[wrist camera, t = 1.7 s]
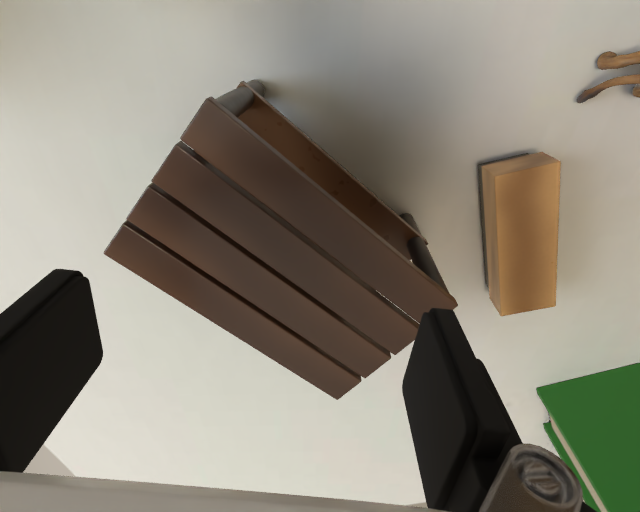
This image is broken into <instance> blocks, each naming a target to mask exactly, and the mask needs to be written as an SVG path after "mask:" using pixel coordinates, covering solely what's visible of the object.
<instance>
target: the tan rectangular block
mask: <svg viewBox="0 0 640 512" xmlns="http://www.w3.org/2000/svg"><path fill="white" fill-rule="evenodd" d="M560 167H561V162H560V161H559V160H557V159H555V158H553V157H551V156H549V155H547V154H545V153H543V152H539V153H535V154H528V153H526V154H522V155H518V156H513V157H509V158H505V159H501V160H496V161H492V162H488V163H484V164H479V165H478V171H479V186H480V202H481V217H482V232H483V247H484V263H485V278H486V284H487V285H488V287H489V296H490V300H491V301H492V303H493V304H494V306H495V307H496V309H497V311H498V312H499V314H500V315H501V316H505V315H511V314H516V313H521V312H527V311H532V310H538V309H543V308H549V307H554V306H556V279H557V251H558V223H559V195H560Z"/></svg>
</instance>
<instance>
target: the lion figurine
mask: <svg viewBox="0 0 640 512" xmlns="http://www.w3.org/2000/svg"><path fill="white" fill-rule="evenodd" d="M597 64H598V68H599V69H601V70H606V69H618V68H622V67H626V66H628V65H633V64H640V51H638V52H635V53H631V54H627V55H619V56H617V55H616V54H615V53H613V52H606V53H603V54H602V55H601V56H600V57H599V59H598V62H597ZM624 84H636V86H635V87H634V88H633V95H634V96H636V97H640V74H639V75H629V76H622V77H616V78H613V79H610V80H607V81H605V82H603V83H601V84H599V85H597V86H596V87H594V88H591V89H588V90H585V91H584V92H583V93H582V94H581V95H580V96H579V97H578V99H577V102H578V103H583V102H585V101H586V100H588V99H590V98H593V97H595V96H596V95H597V94H598V93H600V92H601V91H603V90H604V89H606V88H609V87H612V86H616V85H624Z"/></svg>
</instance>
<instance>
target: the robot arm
mask: <svg viewBox="0 0 640 512" xmlns="http://www.w3.org/2000/svg"><path fill="white" fill-rule="evenodd" d="M102 357H103V349H102V344H101V339H100V334H99V329H98V324H97V319H96V313H95V308H94V303H93V298H92V293H91V288H90V283H89V280H88V278H86V277H83V274H82V273H81V272H80V271H74V270H64V269H55V270H53V271H52V272H51V273H49V274H48V275H47V276H46V277H45V278H43V279H42V280H41V281H40V282H39V283H37V284H36V285H35V286H34V287H32V288H31V289H30V290H29V291H28V292H26V293H25V294H24V295H23V296H22V297H20V298H19V299H18V300H17V301H16V302H14V303H13V304H12V305H11V306H9V307H8V308H7V309H6V310H5V311H3V312H2V313H1V314H0V512H597V511H595V510H594V509H593V508H591V507H590V506H589V505H587V504H586V503H584V502H583V491H582V488H581V485H580V482H579V480H578V478H577V477H576V475H575V474H574V472H573V471H572V469H571V468H570V467H569V466H568V465H567V464H566V463H565V462H564V461H563V460H562V459H560V458H559V457H558V456H556V455H555V454H553V453H552V452H550V451H548V450H546V449H544V448H542V447H540V446H536V445H532V444H523V443H522V441H521V439H520V437H519V435H518V433H517V431H516V429H515V427H514V425H513V423H512V421H511V419H510V417H509V415H508V413H507V410H506V408H505V406H504V404H503V402H502V400H501V398H500V396H499V394H498V392H497V390H496V388H495V386H494V384H493V382H492V380H491V378H490V376H489V374H488V372H487V370H486V368H485V366H484V364H483V363H482V361H481V360H479V359H476V357H475V355H474V353H473V351H472V349H471V347H470V345H469V343H468V340H467V338H466V336H465V334H464V332H463V330H462V328H461V326H460V324H459V321H458V319H457V317H456V315H455V313H454V311H453V310H449V309H440V308H431V309H430V311H429V312H424V313H423V315H422V318H421V321H420V325H419V328H418V332H417V335H416V338H415V342H414V345H413V348H412V352H411V355H410V359H409V362H408V365H407V369H406V372H405V376H404V379H403V385H402V390H403V396H404V401H405V406H406V410H407V415H408V419H409V424H410V429H411V433H412V438H413V442H414V447H415V452H416V456H417V461H418V465H419V470H420V475H421V479H422V484H423V489H424V493H425V498H426V502H427V506H428V508H422V507H413V506H403V505H394V504H385V503H375V502H366V501H356V500H345V499H334V498H322V497H311V496H300V495H289V494H277V493H266V492H255V491H243V490H231V489H219V488H207V487H195V486H183V485H171V484H159V483H147V482H135V481H122V480H110V479H97V478H84V477H71V476H58V475H45V474H31V473H23V471H24V470H25V469H26V467H27V466H28V465H29V463H30V461H31V460H32V459H33V457H34V456H35V455H36V453H37V452H38V451H39V449H40V448H41V446H42V445H43V444H44V442H45V441H46V439H47V438H48V436H49V435H50V434H51V432H52V431H53V429H54V428H55V427H56V425H57V424H58V422H59V421H60V420H61V418H62V417H63V415H64V414H65V413H66V411H67V410H68V408H69V407H70V405H71V404H72V403H73V401H74V400H75V398H76V397H77V396H78V394H79V393H80V391H81V390H82V389H83V387H84V386H85V384H86V383H87V382H88V380H89V379H90V377H91V376H92V375H93V373H94V372H95V370H96V369H97V367H98V366H99V365H100V363H101V360H102Z"/></svg>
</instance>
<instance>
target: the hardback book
mask: <svg viewBox="0 0 640 512" xmlns="http://www.w3.org/2000/svg"><path fill="white" fill-rule="evenodd" d="M537 393H538V395H539V397H540V399H541V400H542V402H543V404H544V405H545V407H546V409H547V410H548V412H549V414H550V419H551V422H549V423H544V424H543V425H544V429H545V431H546V433H547V434H548V436H549V438H550V440H551V442H552V443H553V445H554V447H555V449H556V450H557V452H558V454H559V456H560V458H561V459H562V460H563V461H564V462H565V463H566V464H567V465H568V466H569V467H570V468H571V469H572V471H573V472H574V474H575V475H576V477H577V478H578V480H579V482H580V485H581V488H582V491H583V499H584V501H585V503H586V504H587V505H589V506H590V507H591V508H593V509H594V510H595V511H597V512H640V363H637V364H633V365H629V366H625V367H621V368H617V369H613V370H609V371H605V372H600V373H596V374H592V375H588V376H584V377H580V378H576V379H572V380H568V381H564V382H559V383H555V384H551V385H547V386H543V387H539V388H537Z"/></svg>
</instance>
